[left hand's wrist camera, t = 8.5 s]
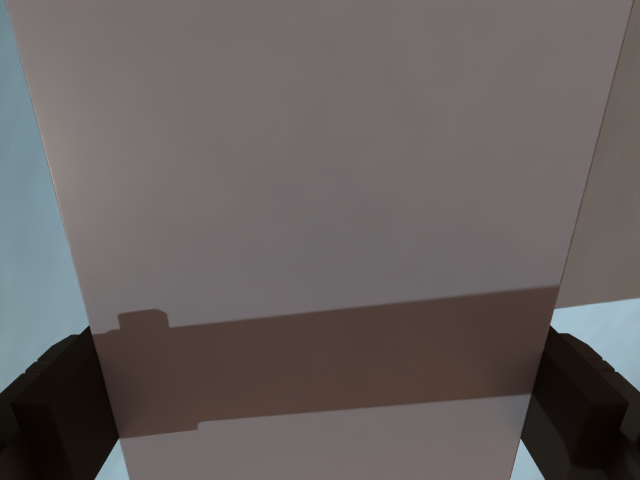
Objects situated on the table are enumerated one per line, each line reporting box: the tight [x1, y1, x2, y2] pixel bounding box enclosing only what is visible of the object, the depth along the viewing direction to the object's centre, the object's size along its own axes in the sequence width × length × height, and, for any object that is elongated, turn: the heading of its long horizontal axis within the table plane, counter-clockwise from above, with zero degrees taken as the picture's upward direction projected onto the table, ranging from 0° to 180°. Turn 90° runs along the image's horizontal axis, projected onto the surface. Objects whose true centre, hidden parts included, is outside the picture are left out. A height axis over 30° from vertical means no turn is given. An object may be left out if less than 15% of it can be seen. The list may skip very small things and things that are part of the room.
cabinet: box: [5, 0, 634, 480], centre depth 12 cm, size 16×10×10 cm, turn 0°
